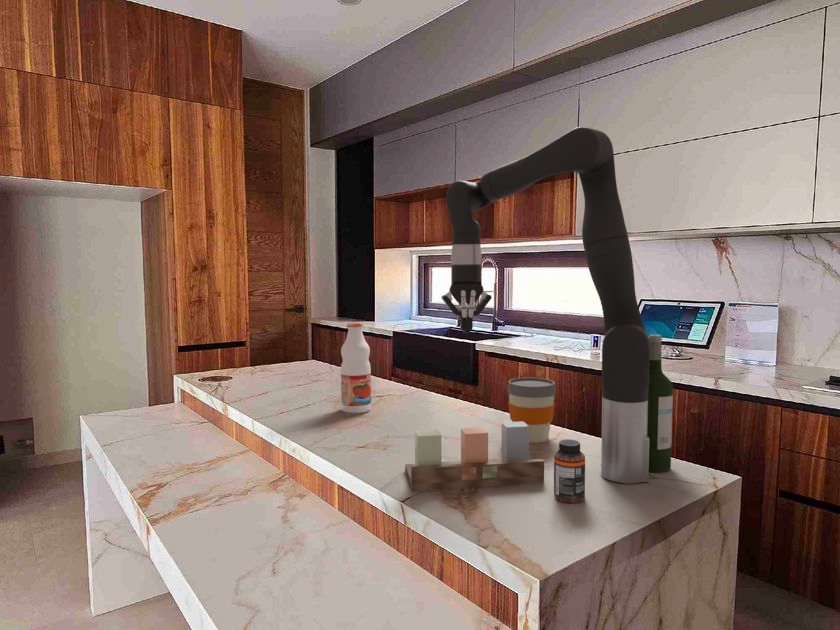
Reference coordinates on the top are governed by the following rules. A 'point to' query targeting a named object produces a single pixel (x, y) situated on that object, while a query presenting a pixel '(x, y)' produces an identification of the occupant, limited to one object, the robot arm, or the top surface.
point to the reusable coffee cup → (532, 405)
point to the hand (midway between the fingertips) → (466, 332)
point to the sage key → (427, 448)
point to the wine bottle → (659, 411)
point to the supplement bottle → (569, 472)
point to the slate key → (515, 441)
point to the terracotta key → (474, 445)
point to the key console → (474, 474)
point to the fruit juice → (355, 371)
